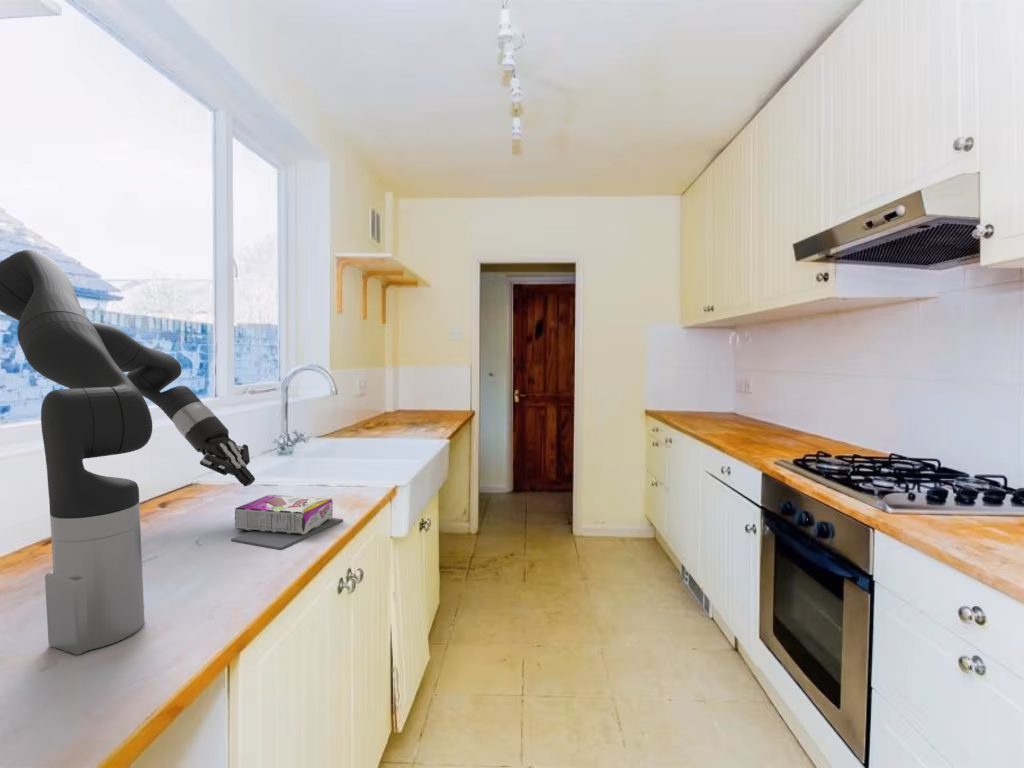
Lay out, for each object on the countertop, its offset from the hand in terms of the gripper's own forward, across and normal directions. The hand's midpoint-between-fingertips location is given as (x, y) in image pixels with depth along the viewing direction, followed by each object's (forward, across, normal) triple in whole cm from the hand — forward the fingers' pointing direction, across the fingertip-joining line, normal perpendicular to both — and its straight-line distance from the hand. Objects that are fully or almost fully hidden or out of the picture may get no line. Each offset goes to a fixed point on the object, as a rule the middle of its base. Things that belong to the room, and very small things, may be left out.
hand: (250, 483), depth 112 cm
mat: (+14, +3, +2) cm, 15 cm away
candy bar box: (+4, 0, -4) cm, 6 cm away
